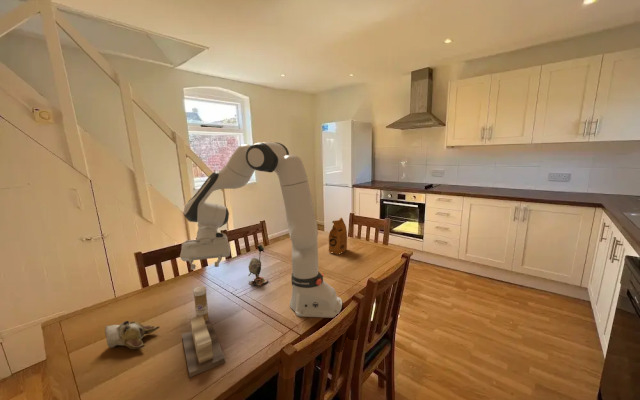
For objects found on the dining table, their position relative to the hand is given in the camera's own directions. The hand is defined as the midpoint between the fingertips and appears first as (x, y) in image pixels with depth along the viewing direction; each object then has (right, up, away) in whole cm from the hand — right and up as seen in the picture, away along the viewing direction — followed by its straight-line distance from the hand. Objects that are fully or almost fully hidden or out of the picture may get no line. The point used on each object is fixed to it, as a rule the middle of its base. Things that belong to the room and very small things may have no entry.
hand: (204, 267), depth 109 cm
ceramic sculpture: (-17, -21, -20) cm, 34 cm away
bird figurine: (+17, -13, +21) cm, 30 cm away
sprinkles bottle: (+3, -19, -8) cm, 21 cm away
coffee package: (+61, -5, +61) cm, 87 cm away
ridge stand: (+10, -21, -24) cm, 33 cm away
